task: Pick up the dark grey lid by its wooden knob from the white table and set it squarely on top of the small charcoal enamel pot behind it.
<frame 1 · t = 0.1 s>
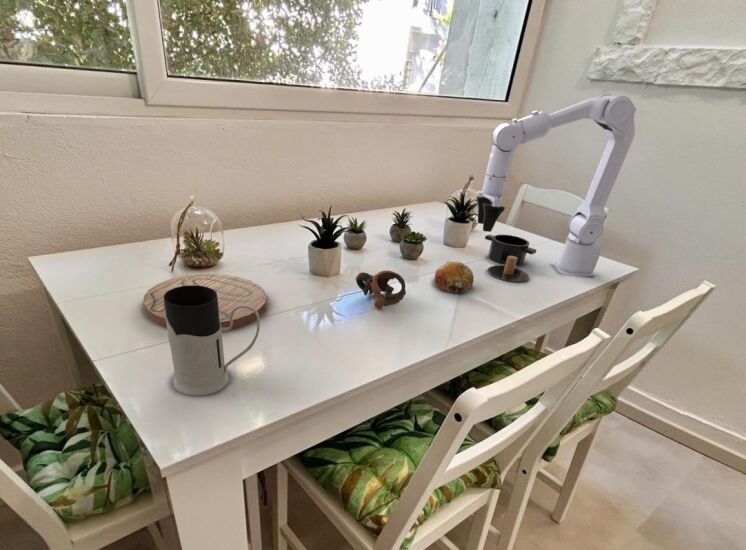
hand: (484, 227, 130), 10 cm above the table, tool pointing down, fingers open, 7 cm apart
glass holder: (218, 381, 76), on the table
pot: (505, 261, 138), on the table
brown curved loop: (378, 301, 108), on the table
lid: (507, 274, 127), point 1 cm above the table
bread roll: (451, 287, 118), on the table
trivet: (207, 305, 99), on the table
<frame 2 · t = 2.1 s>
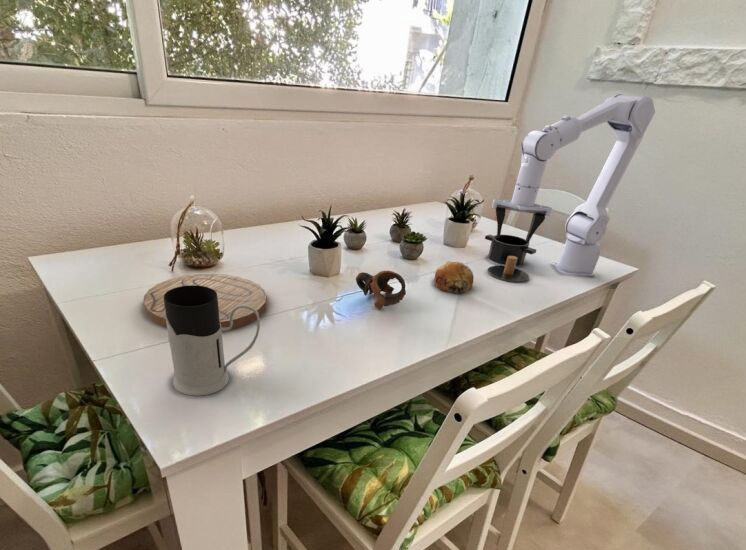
hand: (512, 239, 123), 10 cm above the table, tool pointing down, fingers open, 7 cm apart
nothing on the table moved.
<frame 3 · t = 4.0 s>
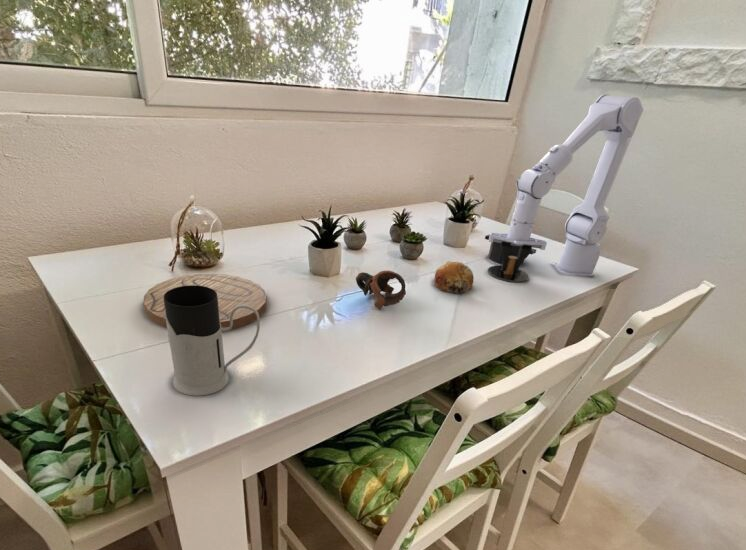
hand: (508, 271, 127), 2 cm above the table, tool pointing down, fingers closed on lid, 2 cm apart
lid: (507, 274, 127), point 1 cm above the table, touching gripper
everything else where it was.
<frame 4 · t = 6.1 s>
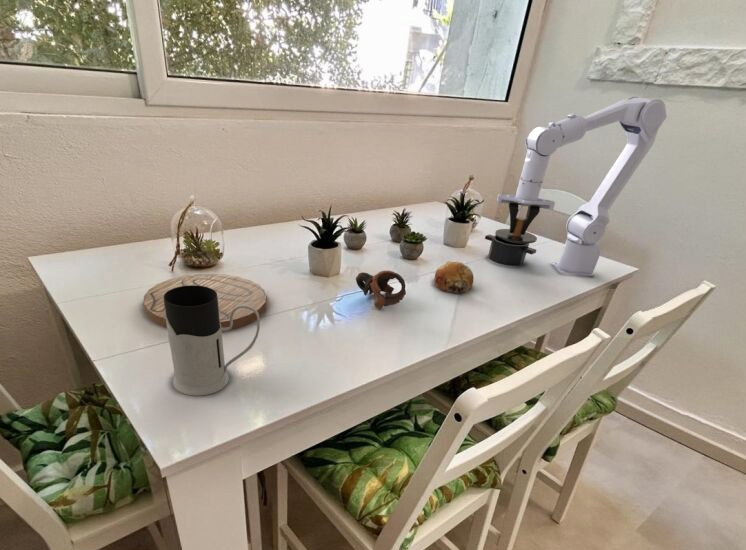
hand: (516, 233, 127), 10 cm above the table, tool pointing down, fingers closed on lid, 2 cm apart
lid: (515, 236, 127), point 9 cm above the table, touching gripper
everything else where it was.
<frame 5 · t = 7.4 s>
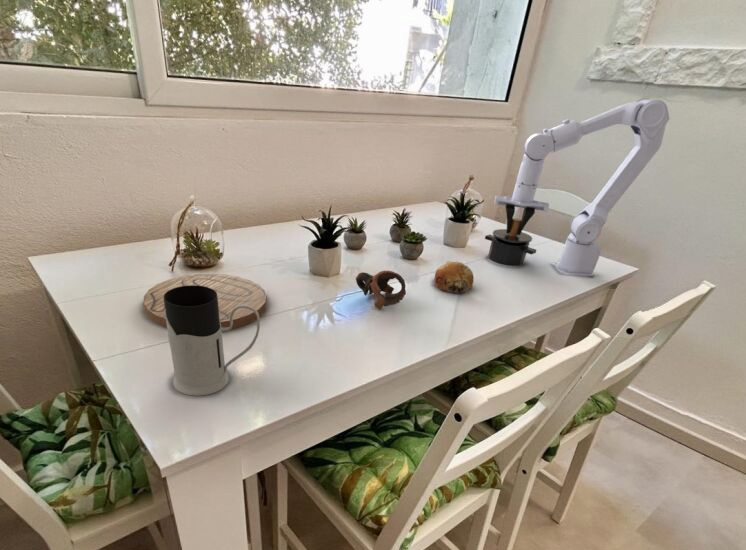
hand: (512, 233, 134), 8 cm above the table, tool pointing down, fingers closed on lid, 2 cm apart
lid: (512, 236, 134), point 7 cm above the table, touching gripper
everything else where it was.
when the fingers open (7 cm above the table, at t = 8.0 s): lid stays where it is, resting on pot.
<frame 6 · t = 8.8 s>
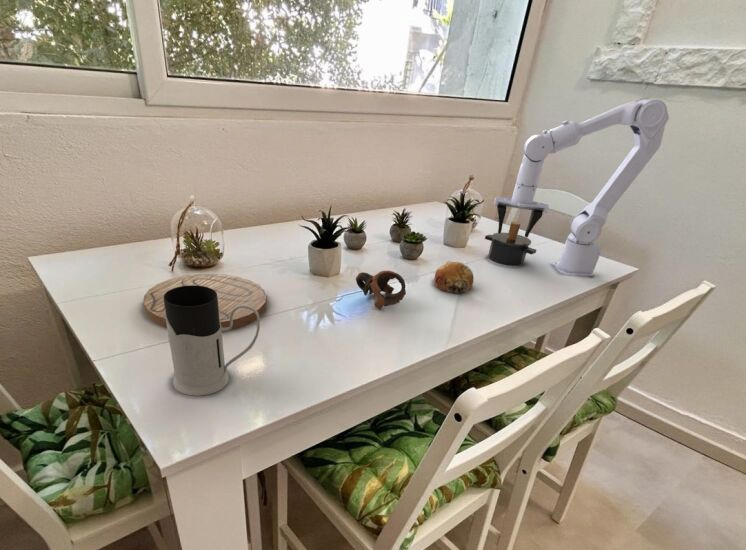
hand: (512, 234, 134), 8 cm above the table, tool pointing down, fingers open, 7 cm apart
lid: (511, 240, 135), point 6 cm above the table, touching pot
everything else where it was.
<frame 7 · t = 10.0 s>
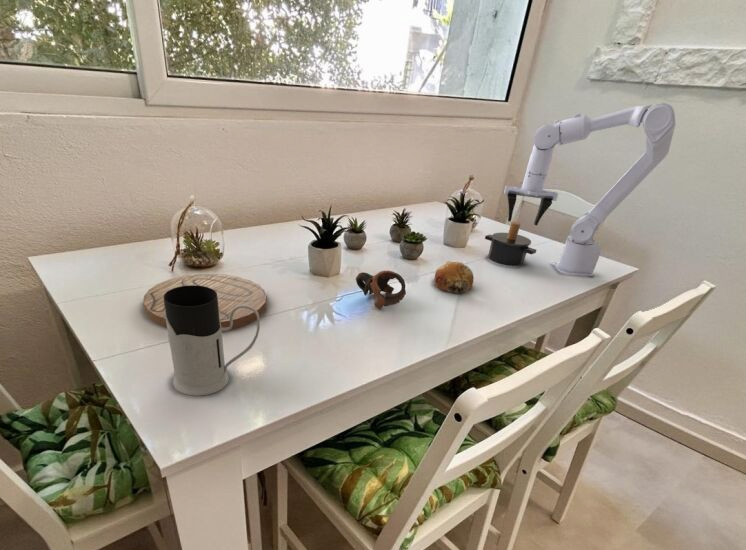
hand: (522, 222, 137), 10 cm above the table, tool pointing down, fingers open, 7 cm apart
nothing on the table moved.
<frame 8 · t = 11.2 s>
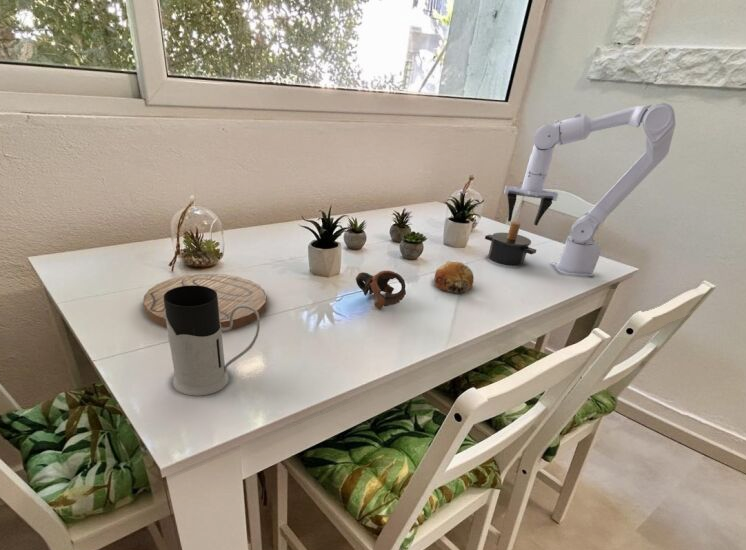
hand: (522, 222, 137), 10 cm above the table, tool pointing down, fingers open, 7 cm apart
nothing on the table moved.
at the end: lid 0.0 cm off-centre on the pot, point 6.4 cm above the pot's base; lid tilted 0°; the gripper is holding nothing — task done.
